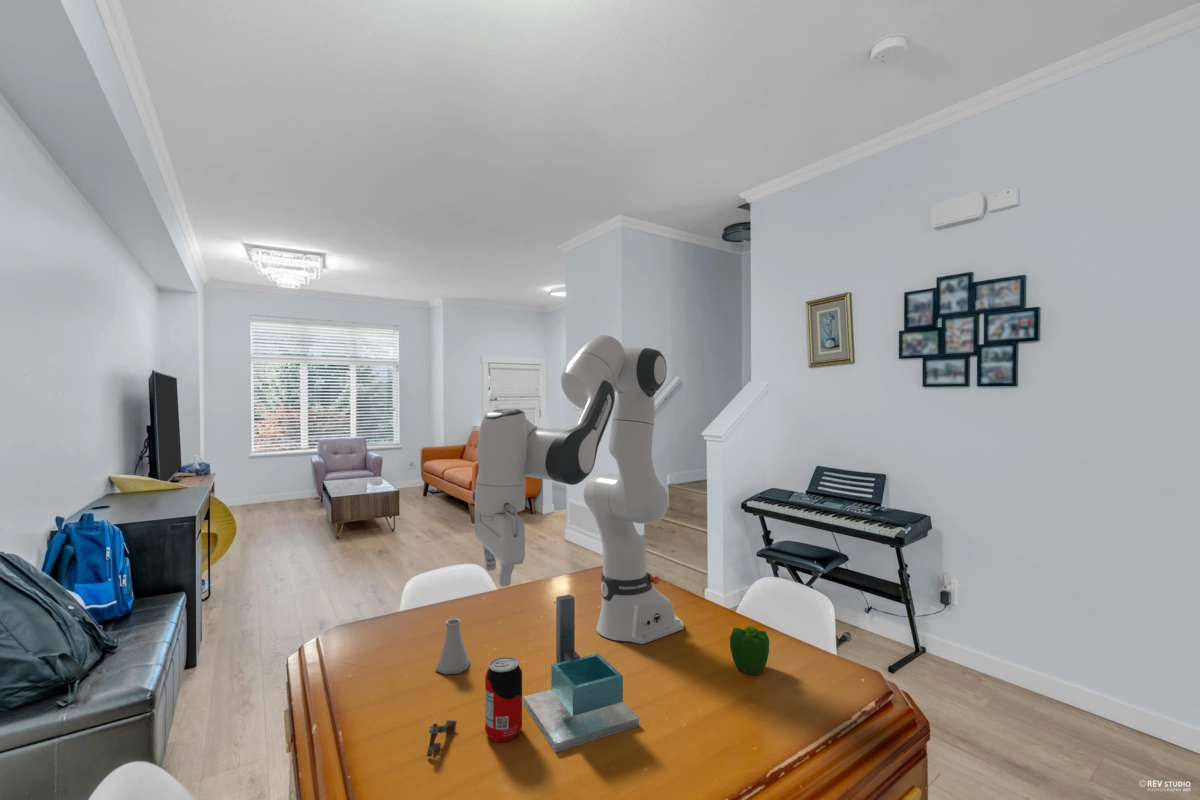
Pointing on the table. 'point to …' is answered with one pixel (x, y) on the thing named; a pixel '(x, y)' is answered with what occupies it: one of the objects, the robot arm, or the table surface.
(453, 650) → the flask
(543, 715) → the cup bracket stand
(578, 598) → the table surface
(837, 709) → the table surface
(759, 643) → the bell pepper
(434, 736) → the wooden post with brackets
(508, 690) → the beverage can
